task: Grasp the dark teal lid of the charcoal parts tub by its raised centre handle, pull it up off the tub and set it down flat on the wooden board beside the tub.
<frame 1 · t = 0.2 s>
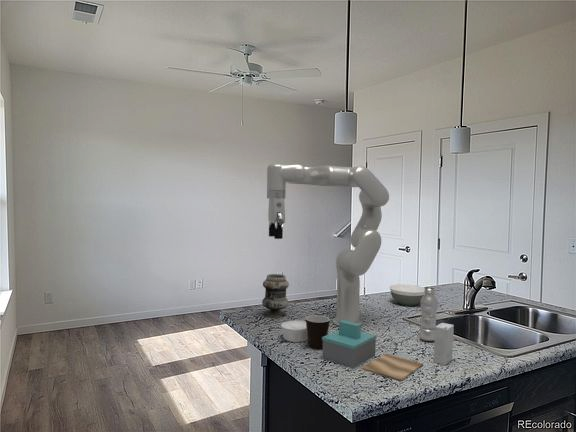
hand: (275, 237, 167), 37 cm above the countertop, tool pointing down, fingers open, 9 cm apart
wooden board: (392, 367, 131), on the countertop
coffee mug: (319, 345, 150), on the countertop
apothecary jar: (275, 315, 189), on the countertop
tub: (349, 356, 140), on the countertop
lid: (349, 339, 139), point 6 cm above the countertop, touching tub
ramekin: (295, 338, 157), on the countertop
bowl: (407, 304, 214), on the countertop
skincare box: (443, 362, 137), on the countertop
plastic bottle: (427, 340, 158), on the countertop
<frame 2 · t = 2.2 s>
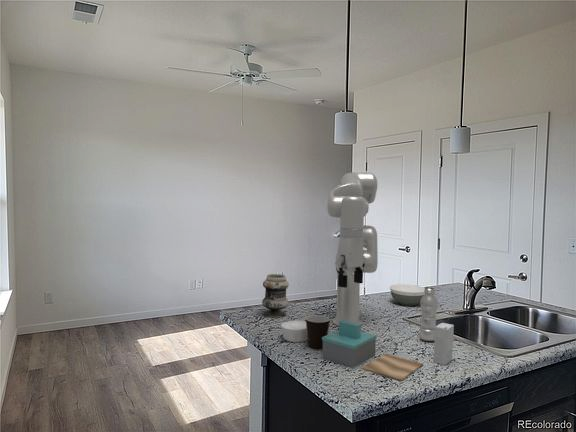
hand: (350, 284, 139), 24 cm above the countertop, tool pointing down, fingers open, 9 cm apart
nothing on the countertop moved.
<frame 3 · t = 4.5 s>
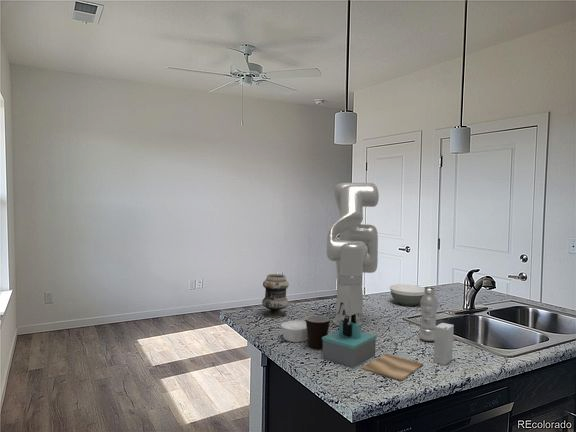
hand: (349, 334, 139), 8 cm above the countertop, tool pointing down, fingers closed on lid
lid: (349, 339, 139), point 6 cm above the countertop, touching gripper, tub
everything else where it was.
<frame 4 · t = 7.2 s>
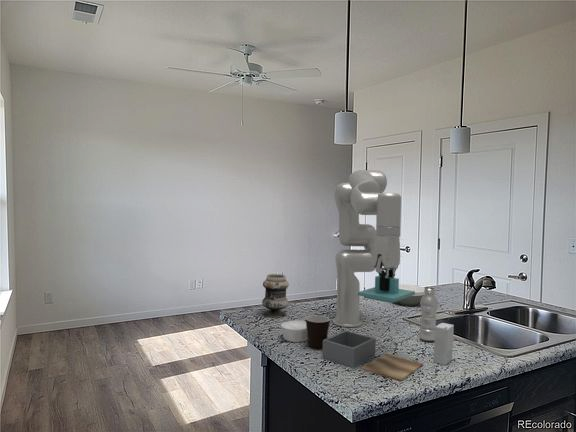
hand: (386, 289, 132), 25 cm above the countertop, tool pointing down, fingers closed on lid
lid: (386, 294, 132), point 23 cm above the countertop, touching gripper
everything else where it was.
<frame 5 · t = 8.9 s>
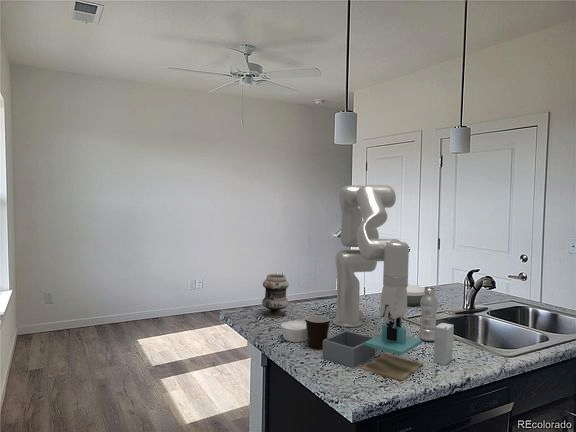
hand: (393, 338, 131), 9 cm above the countertop, tool pointing down, fingers closed on lid
lid: (393, 344, 131), point 7 cm above the countertop, touching gripper
everything else where it was.
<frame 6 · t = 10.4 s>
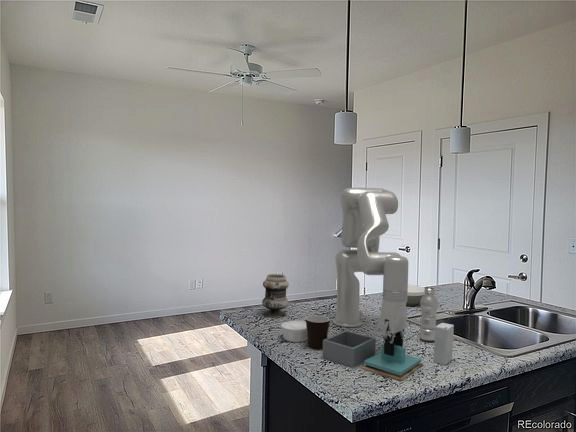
hand: (393, 351, 131), 5 cm above the countertop, tool pointing down, fingers open, 5 cm apart
lid: (392, 362, 131), point 1 cm above the countertop, touching wooden board
everything else where it was.
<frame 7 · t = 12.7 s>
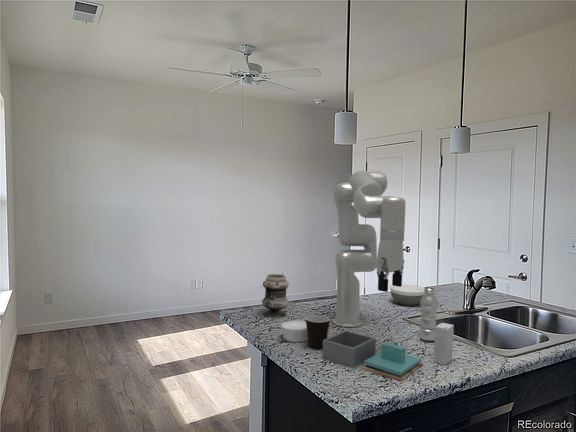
hand: (390, 288, 134), 24 cm above the countertop, tool pointing down, fingers open, 9 cm apart
nothing on the countertop moved.
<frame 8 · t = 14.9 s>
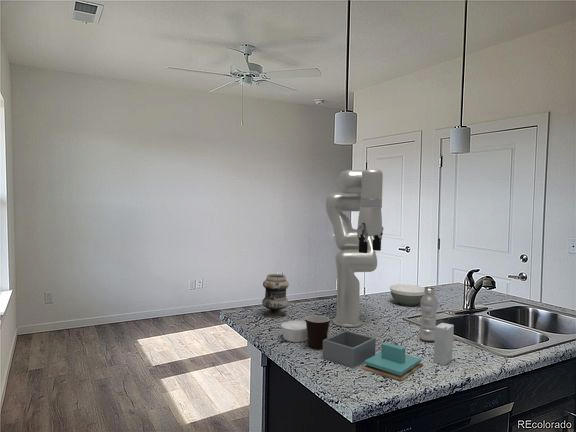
hand: (370, 251, 149), 34 cm above the countertop, tool pointing down, fingers open, 9 cm apart
nothing on the countertop moved.
at the end: lid inside the target area on the wooden board (0.1 cm from its centre), point 1.4 cm above the wooden board's base; lid tilted 0°; lid touching wooden board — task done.
